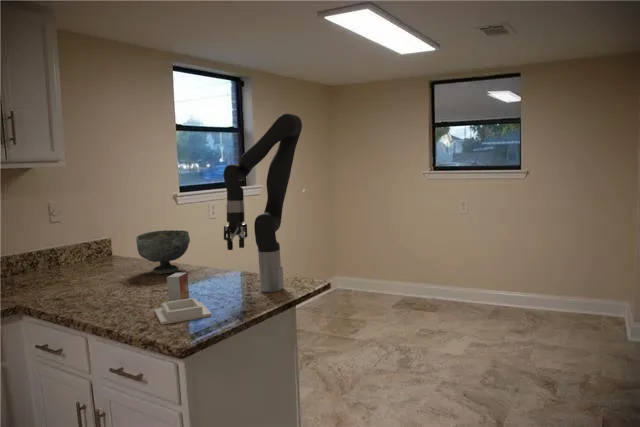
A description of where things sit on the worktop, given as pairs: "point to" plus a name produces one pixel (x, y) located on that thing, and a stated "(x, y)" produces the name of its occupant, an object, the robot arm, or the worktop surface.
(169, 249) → the decorative bowl
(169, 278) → the small box
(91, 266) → the worktop surface
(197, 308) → the off-white tray
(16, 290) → the worktop surface
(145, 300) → the worktop surface
